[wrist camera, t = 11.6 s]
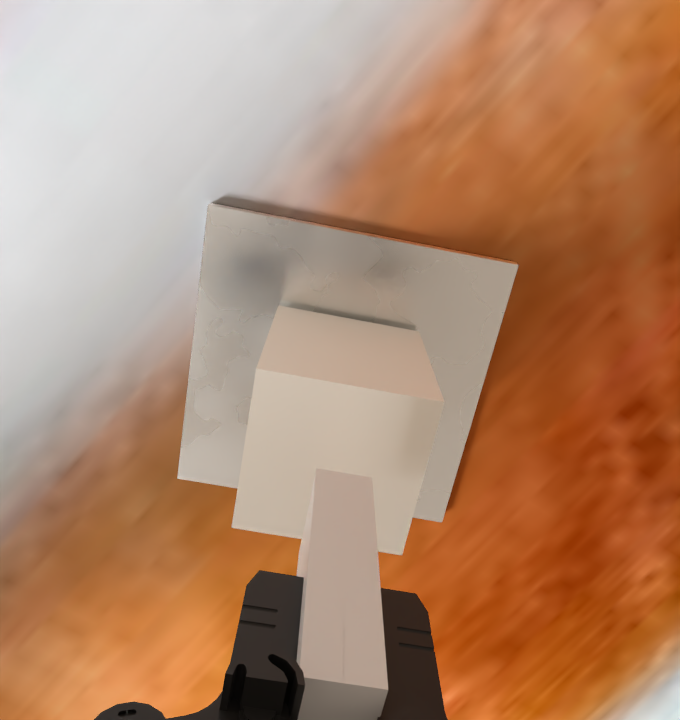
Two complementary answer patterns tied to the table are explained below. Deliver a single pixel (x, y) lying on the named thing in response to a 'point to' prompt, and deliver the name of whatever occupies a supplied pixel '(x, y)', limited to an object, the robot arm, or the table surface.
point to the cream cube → (337, 421)
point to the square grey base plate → (338, 298)
